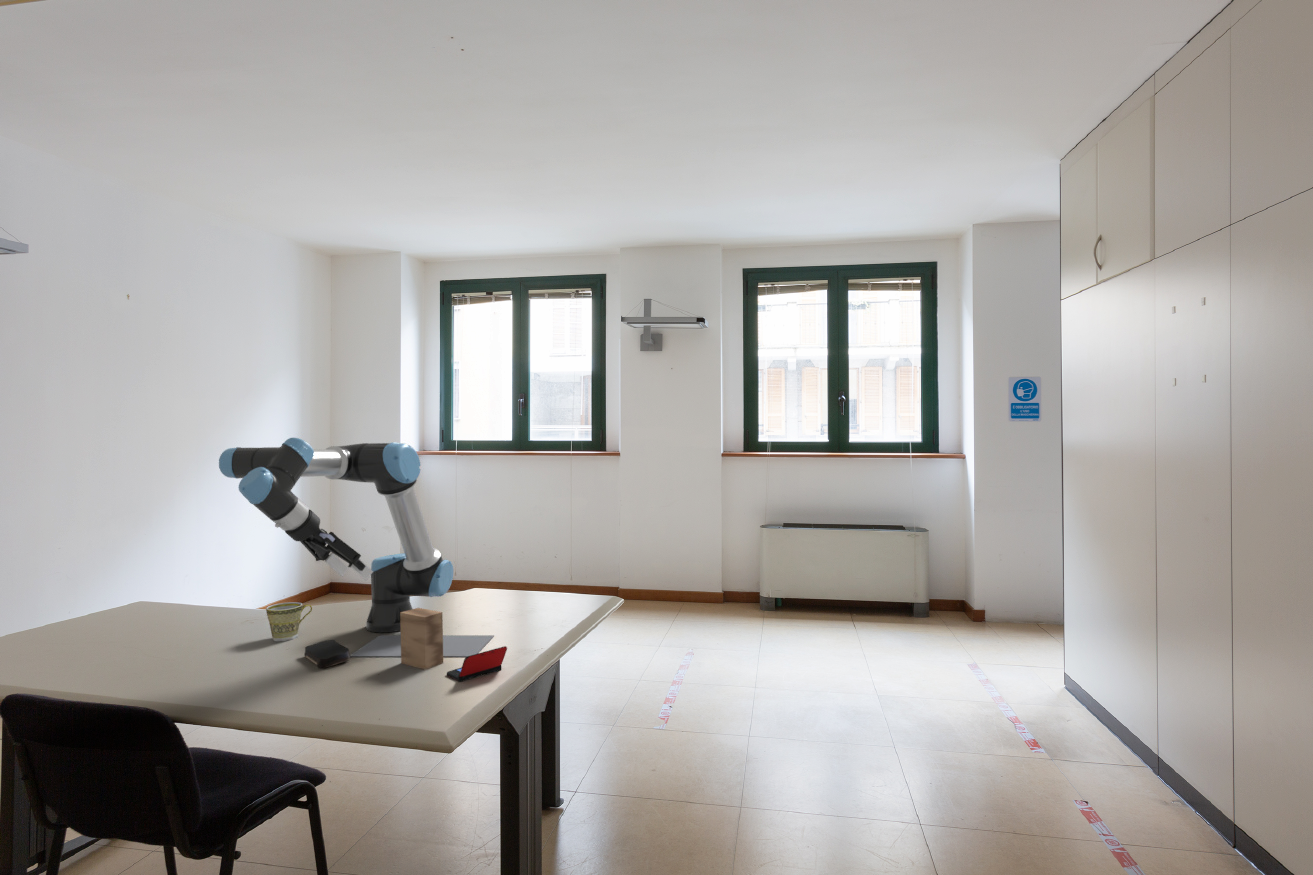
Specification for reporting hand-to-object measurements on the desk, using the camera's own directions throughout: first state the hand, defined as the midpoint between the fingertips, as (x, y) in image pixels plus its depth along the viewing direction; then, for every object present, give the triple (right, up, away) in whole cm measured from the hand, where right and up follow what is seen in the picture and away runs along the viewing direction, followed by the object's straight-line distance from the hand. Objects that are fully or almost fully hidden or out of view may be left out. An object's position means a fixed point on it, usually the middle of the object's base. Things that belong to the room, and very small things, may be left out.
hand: (357, 573), depth 187 cm
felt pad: (+9, -26, +26) cm, 38 cm away
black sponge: (-15, -27, +15) cm, 35 cm away
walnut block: (+13, -27, +11) cm, 32 cm away
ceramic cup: (-36, -27, +38) cm, 59 cm away
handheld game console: (+31, -27, +1) cm, 41 cm away
